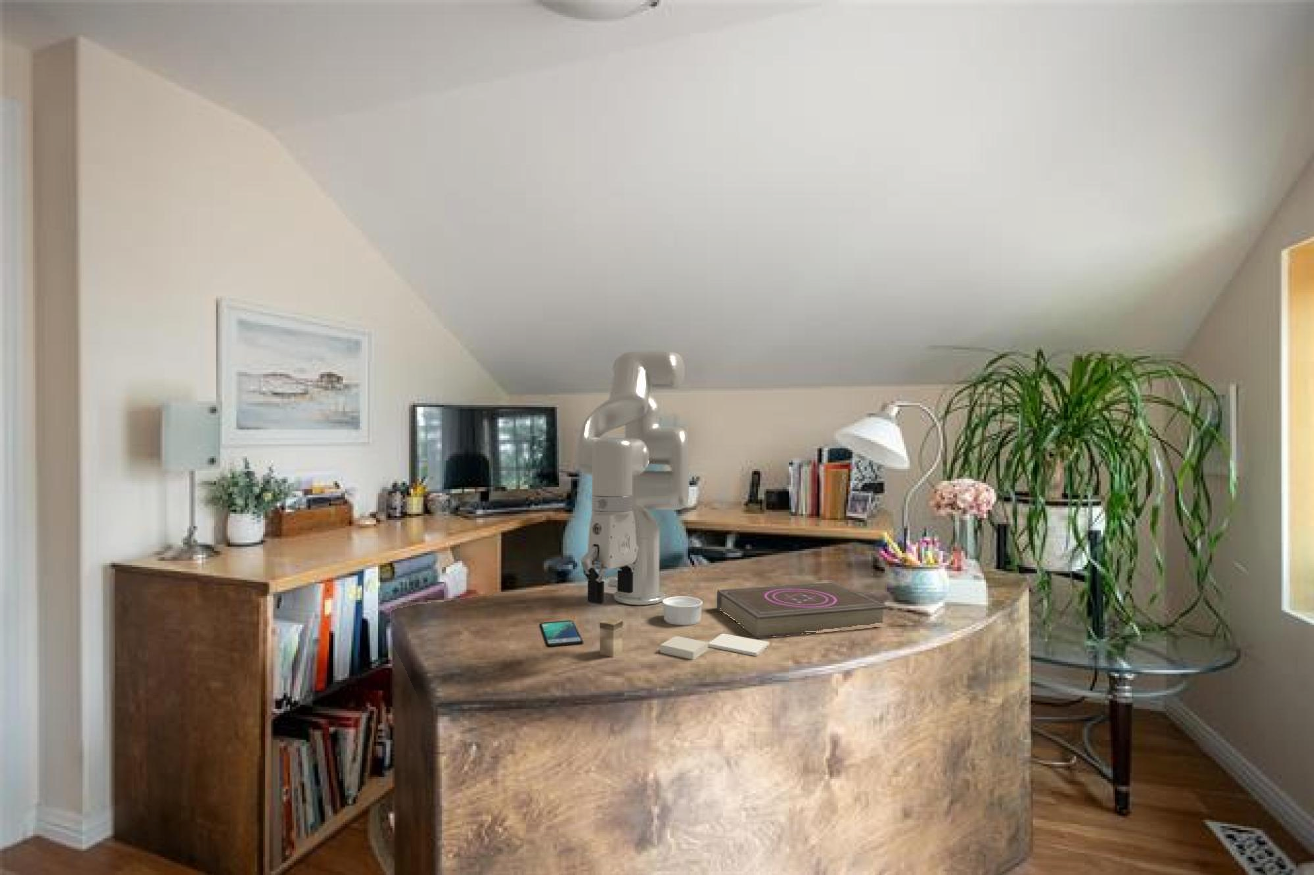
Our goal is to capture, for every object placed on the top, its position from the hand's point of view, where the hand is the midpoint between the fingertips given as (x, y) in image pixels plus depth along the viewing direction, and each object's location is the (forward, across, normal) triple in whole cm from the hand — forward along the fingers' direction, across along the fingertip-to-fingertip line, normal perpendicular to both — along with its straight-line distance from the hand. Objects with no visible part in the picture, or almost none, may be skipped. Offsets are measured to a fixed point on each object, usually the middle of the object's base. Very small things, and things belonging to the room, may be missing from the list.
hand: (610, 597), depth 118 cm
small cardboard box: (+11, +1, 0) cm, 11 cm away
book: (+11, +41, -23) cm, 48 cm away
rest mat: (+10, +17, -19) cm, 27 cm away
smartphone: (+11, +5, +15) cm, 19 cm away
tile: (+10, +9, -7) cm, 15 cm away
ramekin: (+10, +26, -2) cm, 28 cm away
